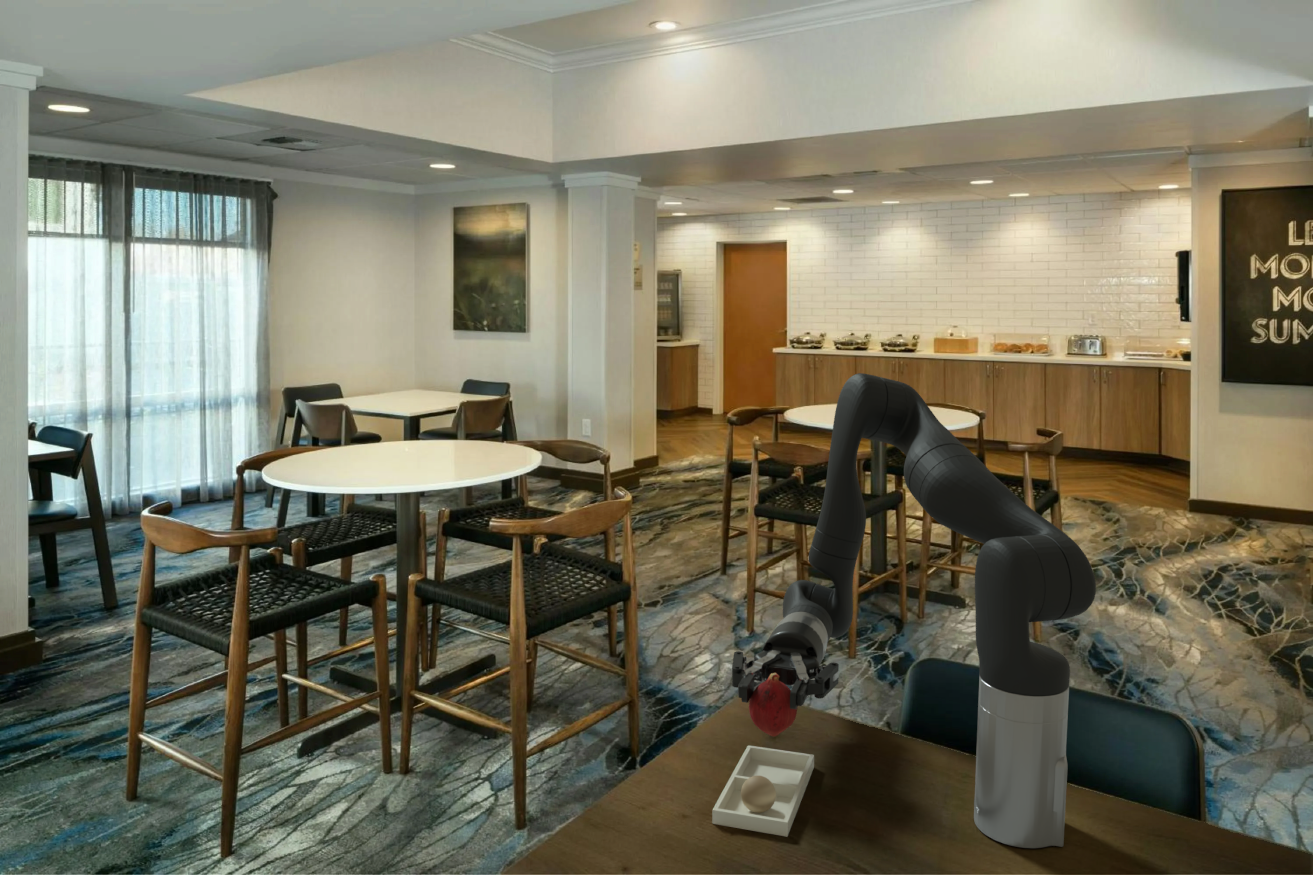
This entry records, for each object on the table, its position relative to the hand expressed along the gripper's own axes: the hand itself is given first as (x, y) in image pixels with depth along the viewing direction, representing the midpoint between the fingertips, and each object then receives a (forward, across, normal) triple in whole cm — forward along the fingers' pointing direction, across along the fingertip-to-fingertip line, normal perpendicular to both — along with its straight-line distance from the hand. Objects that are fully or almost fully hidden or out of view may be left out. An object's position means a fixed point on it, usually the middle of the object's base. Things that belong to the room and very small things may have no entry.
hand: (768, 697), depth 113 cm
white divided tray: (+2, 0, +12) cm, 12 cm away
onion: (-3, 0, +6) cm, 7 cm away
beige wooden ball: (+6, 0, +11) cm, 13 cm away
